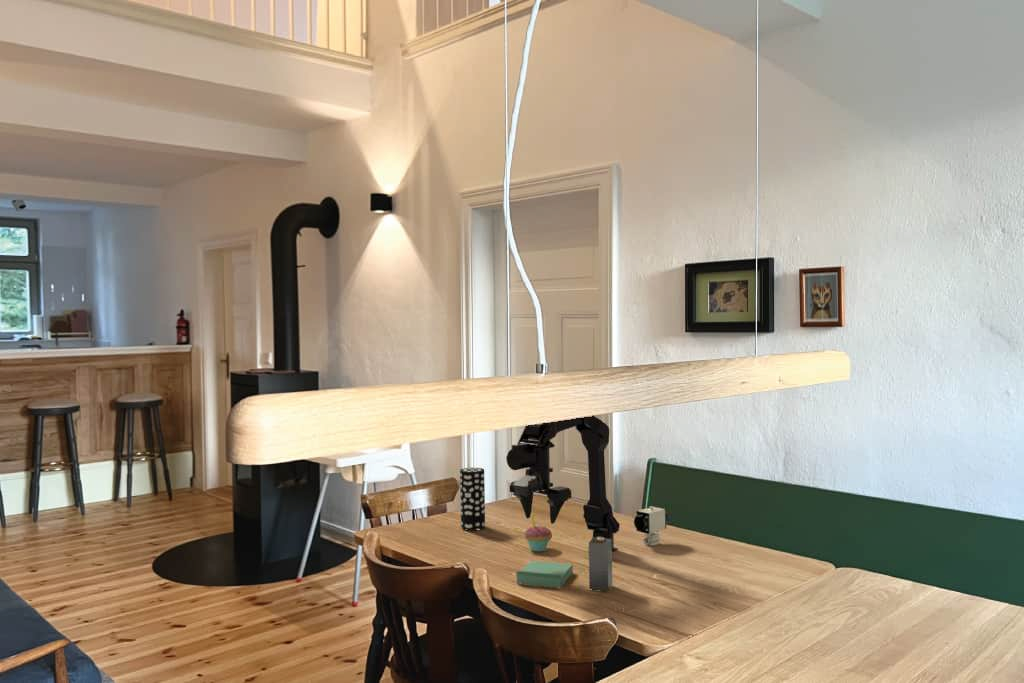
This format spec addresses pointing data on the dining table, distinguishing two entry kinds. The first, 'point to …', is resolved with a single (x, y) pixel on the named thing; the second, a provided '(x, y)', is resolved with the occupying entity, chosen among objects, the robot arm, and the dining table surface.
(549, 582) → the coupler stand
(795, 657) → the dining table surface
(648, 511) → the white security camera
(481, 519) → the white-spotted black cylinder
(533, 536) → the cupcake
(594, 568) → the block
